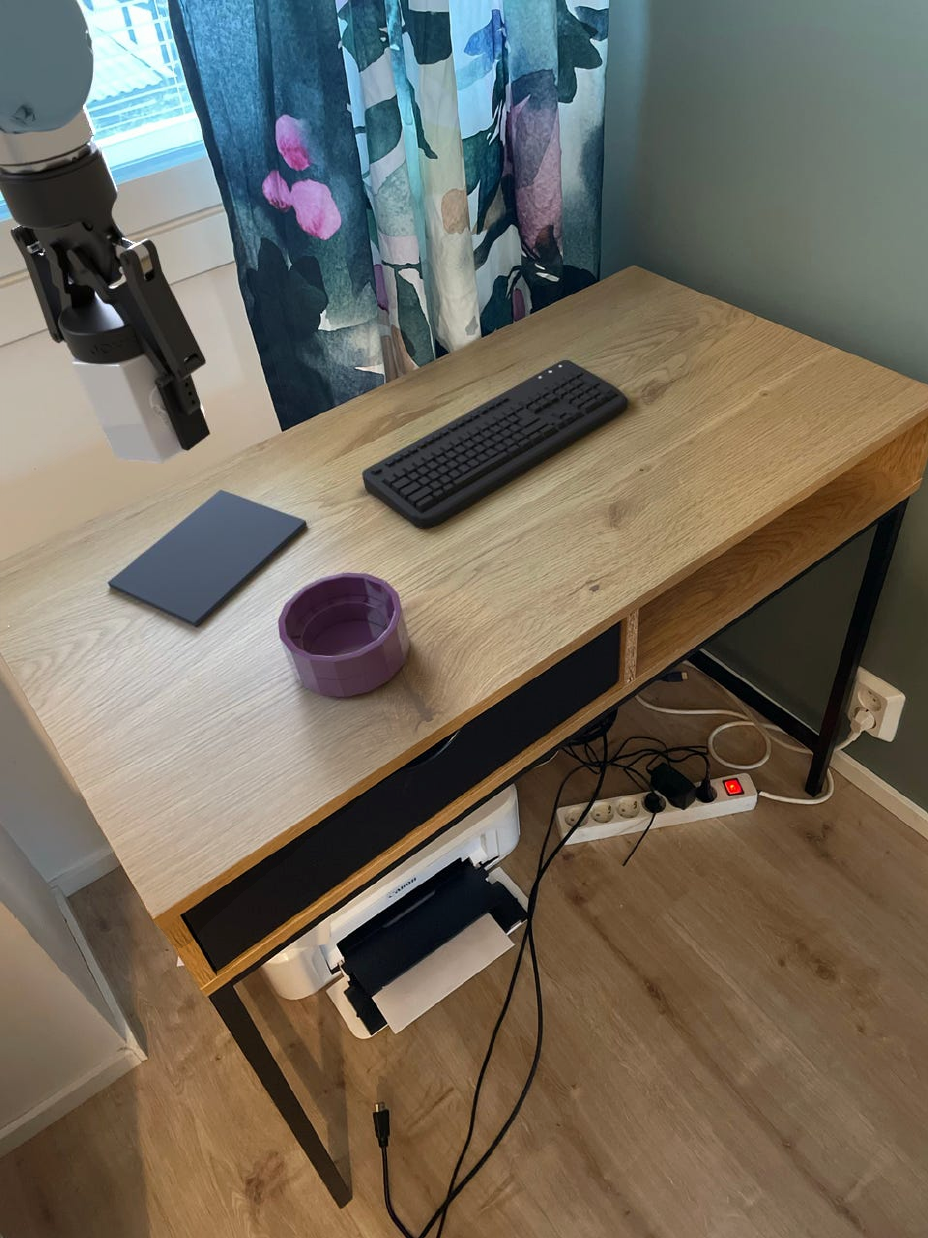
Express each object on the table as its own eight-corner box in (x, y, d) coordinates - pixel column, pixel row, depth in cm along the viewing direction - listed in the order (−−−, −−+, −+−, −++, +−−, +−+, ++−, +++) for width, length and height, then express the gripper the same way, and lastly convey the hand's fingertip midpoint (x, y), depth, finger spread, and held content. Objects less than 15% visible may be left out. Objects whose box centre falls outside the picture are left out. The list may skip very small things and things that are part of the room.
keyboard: (425, 533, 88) (422, 517, 86) (362, 486, 94) (358, 471, 93) (634, 405, 99) (635, 389, 98) (565, 371, 106) (565, 356, 104)
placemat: (196, 627, 82) (194, 623, 81) (109, 586, 87) (106, 582, 87) (307, 525, 91) (306, 520, 90) (222, 493, 96) (220, 489, 95)
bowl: (362, 718, 72) (350, 678, 69) (268, 674, 77) (253, 634, 73) (432, 636, 78) (424, 595, 74) (341, 599, 82) (330, 558, 79)
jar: (140, 478, 75) (81, 347, 66) (95, 443, 79) (34, 316, 70) (229, 429, 78) (185, 299, 70) (181, 398, 83) (133, 272, 74)
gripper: (191, 147, 59) (277, 434, 75) (-5, 121, 69) (109, 380, 85) (105, 191, 55) (216, 484, 71) (-91, 156, 65) (46, 422, 81)
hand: (158, 428), depth 78 cm, fingers closed on jar, 9 cm apart
